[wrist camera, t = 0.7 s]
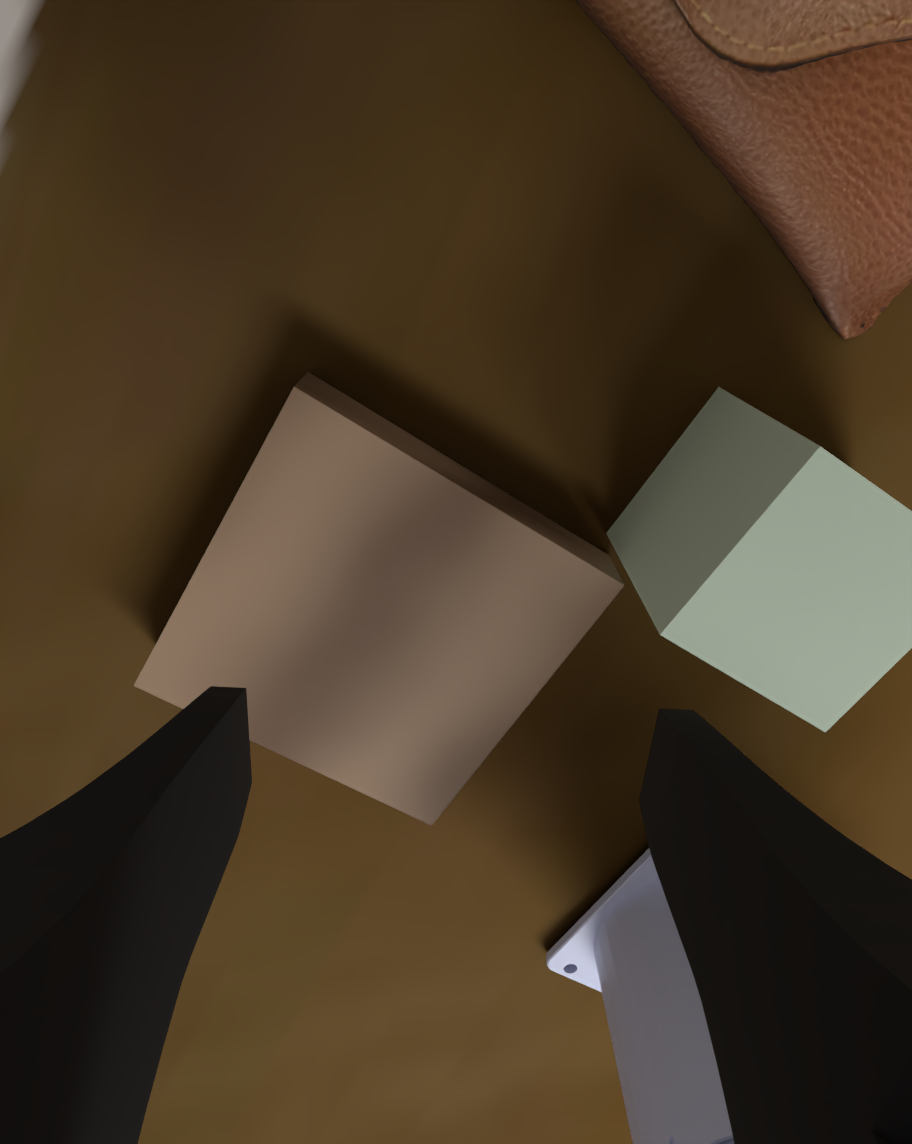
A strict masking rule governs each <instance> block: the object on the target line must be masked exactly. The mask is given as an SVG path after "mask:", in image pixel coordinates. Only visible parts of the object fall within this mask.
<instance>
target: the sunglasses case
mask: <svg viewBox="0 0 912 1144" xmlns="http://www.w3.org/2000/svg"><path fill="white" fill-rule="evenodd" d="M576 1H577V3H578V4H579V5H580V6H581V7H582V8H583V10H584V11H585V13H586V14H587V15H588V16H589V17H590V18H591V19H592V20H593V22H594V23H595V24H596V25H597V26H598V27H599V28H600V30H601V31H602V32H603V33H604V34H605V35H606V36H607V38H608V39H609V40H610V41H611V42H612V43H613V45H614V46H615V48H616V49H617V50H618V51H620V52H621V54H622V55H623V56H624V57H625V58H626V60H627V61H628V63H629V65H630V66H631V67H633V68H634V69H636V70H637V71H638V73H639V74H640V76H641V77H642V78H643V79H644V80H645V81H646V82H647V84H648V85H649V87H650V89H651V90H652V92H653V93H654V94H655V95H656V96H657V97H658V98H659V99H660V100H661V101H662V102H663V103H664V104H665V105H666V106H667V108H668V109H669V110H670V111H671V113H672V114H673V115H674V116H675V117H676V119H677V120H678V121H680V122H681V124H682V125H683V127H684V128H685V129H686V130H687V132H688V133H689V134H690V135H691V136H692V138H693V139H694V141H695V142H696V144H697V145H698V147H699V148H700V149H701V150H702V151H703V152H705V153H706V155H708V156H709V157H710V159H711V161H712V163H713V164H714V166H715V167H717V168H719V169H720V170H721V171H722V173H723V175H724V176H725V177H726V178H727V179H728V181H729V182H730V184H731V185H732V187H733V189H734V191H735V192H736V193H737V194H739V195H741V196H742V198H743V200H744V202H745V203H746V204H747V205H748V206H749V207H750V208H751V209H752V211H753V212H754V213H755V215H756V216H757V217H758V218H759V219H760V221H761V222H762V223H763V224H764V225H765V226H766V228H767V229H768V231H769V232H770V233H771V235H772V236H773V238H774V240H775V242H776V243H777V244H778V246H779V247H780V249H781V250H782V251H783V252H784V253H785V255H786V256H787V258H788V259H789V260H790V261H791V264H792V266H793V267H794V268H795V269H796V272H797V273H798V274H799V275H800V276H801V278H802V279H803V281H804V282H805V284H806V286H807V287H808V288H809V290H810V292H811V293H812V295H813V299H814V302H815V304H816V305H817V306H818V308H819V310H820V311H821V313H822V314H823V316H824V318H825V319H826V321H827V322H828V323H829V325H830V326H831V327H832V328H833V330H834V331H835V332H836V333H837V334H838V335H839V336H840V337H841V338H842V339H844V340H849V339H852V338H854V337H856V336H858V335H860V334H862V333H863V332H865V331H867V330H868V329H870V328H871V327H872V326H873V324H874V322H875V320H876V319H877V317H878V316H879V315H880V314H881V313H883V312H884V311H885V309H886V307H887V306H888V305H889V304H890V303H891V300H892V299H893V298H894V297H895V296H897V295H898V294H899V293H901V291H902V290H903V289H904V288H906V287H907V286H908V285H910V284H911V283H912V0H576Z"/></svg>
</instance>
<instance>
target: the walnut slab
mask: <svg viewBox="0 0 912 1144" xmlns="http://www.w3.org/2000/svg"><path fill="white" fill-rule="evenodd" d="M623 587H624V583H623V581H622V579H621V577H620V575H619V573H618V571H617V569H616V567H615V565H614V563H613V561H612V559H611V557H610V556H609V555H608V554H606V553H604V552H603V551H601V550H600V549H598V548H596V547H595V546H593V545H591V544H590V543H588V542H586V541H585V540H583V539H582V538H580V537H578V536H577V535H575V534H573V533H572V532H570V531H568V530H567V529H565V528H563V527H562V526H560V525H559V524H557V523H555V522H554V521H552V520H550V519H549V518H547V517H545V516H544V515H542V514H540V513H539V512H537V511H536V510H534V509H532V508H531V507H529V506H527V505H526V504H524V503H522V502H521V501H519V500H517V499H516V498H514V497H513V496H511V495H509V494H508V493H506V492H504V491H503V490H501V489H499V488H498V487H496V486H495V485H493V484H491V483H490V482H488V481H486V480H485V479H483V478H481V477H480V476H478V475H476V474H475V473H473V472H472V471H470V470H468V469H467V468H465V467H463V466H462V465H460V464H458V463H457V462H455V461H453V460H452V459H450V458H449V457H447V456H445V455H444V454H442V453H440V452H439V451H437V450H435V449H434V448H432V447H431V446H429V445H427V444H426V443H424V442H422V441H421V440H419V439H417V438H416V437H414V436H412V435H411V434H409V433H408V432H406V431H404V430H403V429H401V428H399V427H398V426H396V425H394V424H393V423H391V422H389V421H388V420H386V419H385V418H383V417H381V416H380V415H378V414H376V413H375V412H373V411H371V410H370V409H368V408H367V407H365V406H363V405H362V404H360V403H358V402H357V401H355V400H353V399H352V398H350V397H348V396H347V395H345V394H344V393H342V392H340V391H339V390H337V389H335V388H334V387H332V386H330V385H329V384H327V383H325V382H324V381H322V380H321V379H319V378H317V377H316V376H314V375H312V374H311V373H309V372H307V373H306V374H305V375H304V376H303V377H302V378H301V380H300V381H299V382H298V383H297V384H296V385H295V386H294V387H293V389H292V391H291V393H290V395H289V397H288V399H287V400H286V402H285V404H284V406H283V408H282V410H281V412H280V413H279V415H278V417H277V419H276V421H275V423H274V425H273V427H272V428H271V430H270V432H269V434H268V436H267V438H266V440H265V441H264V443H263V445H262V447H261V449H260V451H259V453H258V455H257V456H256V458H255V460H254V462H253V464H252V466H251V468H250V469H249V471H248V473H247V475H246V477H245V479H244V481H243V483H242V484H241V486H240V488H239V490H238V492H237V494H236V496H235V497H234V499H233V501H232V503H231V505H230V507H229V509H228V511H227V512H226V514H225V516H224V518H223V520H222V522H221V524H220V525H219V527H218V529H217V531H216V533H215V535H214V537H213V539H212V540H211V542H210V544H209V546H208V548H207V550H206V552H205V554H204V555H203V557H202V559H201V561H200V563H199V565H198V567H197V568H196V570H195V572H194V574H193V576H192V578H191V580H190V582H189V583H188V585H187V587H186V589H185V591H184V593H183V595H182V596H181V598H180V600H179V602H178V604H177V606H176V608H175V610H174V611H173V613H172V615H171V617H170V619H169V621H168V623H167V624H166V626H165V628H164V630H163V632H162V634H161V636H160V638H159V639H158V641H157V643H156V645H155V647H154V649H153V651H152V652H151V654H150V656H149V658H148V660H147V662H146V664H145V666H144V667H143V669H142V671H141V673H140V675H139V677H138V679H137V680H136V682H135V684H134V686H135V687H137V688H140V689H142V690H144V691H146V692H148V693H150V694H152V695H155V696H157V697H159V698H161V699H163V700H165V701H167V702H169V703H172V704H174V705H176V706H178V707H180V708H182V709H184V708H185V707H186V706H188V705H189V704H190V703H191V702H192V701H193V700H195V699H196V698H197V697H198V696H199V695H201V694H202V693H203V692H204V691H206V690H207V689H208V688H209V687H210V686H217V687H237V688H246V691H247V708H248V725H249V740H250V741H253V742H255V743H257V744H259V745H261V746H263V747H265V748H267V749H270V750H272V751H274V752H276V753H278V754H280V755H282V756H285V757H287V758H289V759H291V760H293V761H295V762H297V763H299V764H302V765H304V766H306V767H308V768H310V769H312V770H314V771H317V772H319V773H321V774H323V775H325V776H327V777H329V778H331V779H334V780H336V781H338V782H340V783H342V784H344V785H346V786H348V787H351V788H353V789H355V790H357V791H359V792H361V793H363V794H366V795H368V796H370V797H372V798H374V799H376V800H378V801H380V802H383V803H385V804H387V805H389V806H391V807H393V808H395V809H398V810H400V811H402V812H404V813H406V814H408V815H410V816H412V817H415V818H417V819H419V820H421V821H423V822H425V823H427V824H429V825H432V824H433V823H434V822H435V821H436V819H437V818H438V817H439V816H440V814H441V813H442V812H443V811H444V809H445V808H446V807H447V806H448V804H449V803H450V802H451V801H452V799H453V798H454V797H455V796H456V794H457V793H458V792H459V791H460V789H461V788H462V787H463V786H464V784H465V783H466V782H467V781H468V779H469V778H470V777H471V776H472V774H473V773H474V772H475V771H476V770H477V768H478V767H479V766H480V765H481V763H482V762H483V761H484V760H485V758H486V757H487V756H488V755H489V753H490V752H491V751H492V750H493V748H494V747H495V746H496V745H497V743H498V742H499V741H500V740H501V738H502V737H503V736H504V735H505V733H506V732H507V731H508V730H509V728H510V727H511V726H512V725H513V723H514V722H515V721H516V720H517V718H518V717H519V716H520V715H521V714H522V712H523V711H524V710H525V709H526V707H527V706H528V705H529V704H530V702H531V701H532V700H533V699H534V697H535V696H536V695H537V694H538V692H539V691H540V690H541V689H542V687H543V686H544V685H545V684H546V682H547V681H548V680H549V679H550V677H551V676H552V675H553V674H554V672H555V671H556V670H557V669H558V667H559V666H560V665H561V664H562V662H563V661H564V660H565V659H566V658H567V656H568V655H569V654H570V653H571V651H572V650H573V649H574V648H575V646H576V645H577V644H578V643H579V641H580V640H581V639H582V638H583V636H584V635H585V634H586V633H587V631H588V630H589V629H590V628H591V626H592V625H593V624H594V623H595V621H596V620H597V619H598V618H599V616H600V615H601V614H602V613H603V611H604V610H605V609H606V608H607V606H608V605H609V604H610V603H611V602H612V600H613V599H614V598H615V597H616V595H617V594H618V593H619V592H620V590H621V589H622V588H623Z"/></svg>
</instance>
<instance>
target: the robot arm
mask: <svg viewBox="0 0 912 1144" xmlns="http://www.w3.org/2000/svg"><path fill="white" fill-rule="evenodd" d="M251 784H252V776H251V759H250V742H249V725H248V708H247V691H246V688H237V687H217V686H210V687H209V688H208V689H207V690H206V691H204V692H203V693H202V694H201V695H199V696H198V697H197V698H196V699H195V700H193V701H192V702H191V703H190V704H189V705H188V706H186V707H185V708H184V709H183V710H182V711H181V712H179V713H178V714H177V715H176V716H175V717H174V718H172V719H171V720H170V721H169V722H168V723H166V724H165V725H164V726H163V727H162V728H161V729H159V730H158V731H157V732H156V733H155V734H153V735H152V736H151V737H150V738H148V739H147V740H146V741H145V742H144V743H142V744H141V745H140V746H139V747H137V748H136V749H135V750H134V751H132V752H131V753H130V754H129V755H127V756H126V757H125V758H123V759H122V760H121V761H119V762H118V763H117V764H115V765H114V766H113V767H111V768H110V769H109V770H107V771H106V772H104V773H103V774H102V775H100V776H99V777H98V778H96V779H95V780H94V781H92V782H91V783H90V784H88V785H87V786H85V787H84V788H83V789H81V790H80V791H78V792H77V793H75V794H74V795H72V796H71V797H69V798H68V799H66V800H65V801H63V802H61V803H60V804H58V805H57V806H55V807H54V808H52V809H50V810H49V811H47V812H45V813H44V814H42V815H40V816H39V817H37V818H36V819H34V820H32V821H31V822H29V823H27V824H26V825H24V826H22V827H20V828H19V829H17V830H15V831H13V832H11V833H9V834H8V835H6V836H4V837H2V838H0V1144H138V1140H139V1136H140V1132H141V1128H142V1124H143V1120H144V1116H145V1112H146V1108H147V1105H148V1101H149V1097H150V1094H151V1090H152V1086H153V1082H154V1079H155V1075H156V1071H157V1068H158V1064H159V1060H160V1057H161V1053H162V1049H163V1046H164V1042H165V1038H166V1035H167V1032H168V1028H169V1025H170V1021H171V1018H172V1014H173V1011H174V1007H175V1004H176V1000H177V997H178V993H179V990H180V986H181V983H182V980H183V977H184V974H185V971H186V969H187V966H188V963H189V960H190V957H191V954H192V952H193V949H194V947H195V944H196V942H197V939H198V937H199V934H200V932H201V929H202V927H203V924H204V922H205V919H206V917H207V914H208V912H209V909H210V907H211V904H212V902H213V899H214V897H215V894H216V892H217V889H218V887H219V884H220V881H221V879H222V876H223V874H224V871H225V869H226V866H227V864H228V861H229V859H230V856H231V853H232V851H233V848H234V846H235V843H236V840H237V838H238V835H239V831H240V827H241V824H242V820H243V816H244V812H245V808H246V804H247V800H248V796H249V792H250V788H251ZM639 801H640V806H641V811H642V816H643V821H644V826H645V831H646V836H647V840H648V845H649V849H648V850H647V851H646V852H645V853H644V854H643V855H642V856H641V857H640V858H639V859H638V860H637V861H636V862H635V863H634V864H633V865H632V866H631V867H630V868H629V869H628V870H627V871H626V872H625V873H624V874H623V875H622V876H621V877H620V878H619V879H618V880H617V881H616V882H615V883H614V884H613V885H612V886H611V887H610V889H609V890H608V891H607V892H606V893H605V894H604V895H603V896H602V897H601V898H600V899H599V900H598V901H597V902H596V903H595V904H594V905H593V906H592V907H591V908H590V909H589V910H588V911H587V912H586V913H585V914H584V915H583V916H582V917H581V918H580V919H579V920H578V921H577V922H576V923H575V924H574V925H573V926H572V927H571V928H570V930H569V931H568V932H567V933H566V934H565V935H564V936H563V937H562V938H561V939H560V940H559V941H558V942H557V943H556V944H555V945H554V946H553V947H552V948H551V949H550V950H549V951H548V952H547V954H546V962H547V966H548V968H549V969H551V970H552V971H554V972H557V973H559V974H561V975H563V976H566V977H568V978H570V979H573V980H575V981H577V982H580V983H582V984H584V985H586V986H589V987H591V988H593V989H596V990H598V991H600V992H602V996H603V1000H604V1005H605V1010H606V1015H607V1020H608V1025H609V1030H610V1035H611V1039H612V1044H613V1049H614V1054H615V1059H616V1064H617V1069H618V1074H619V1078H620V1083H621V1088H622V1093H623V1098H624V1103H625V1108H626V1113H627V1117H628V1122H629V1127H630V1132H631V1137H632V1142H633V1144H912V880H911V879H910V878H908V877H906V876H905V875H903V874H902V873H900V872H898V871H897V870H895V869H894V868H892V867H890V866H889V865H887V864H886V863H884V862H883V861H881V860H880V859H878V858H877V857H875V856H874V855H872V854H871V853H869V852H868V851H866V850H865V849H863V848H862V847H860V846H859V845H857V844H856V843H854V842H853V841H851V840H850V839H848V838H847V837H846V836H844V835H843V834H841V833H840V832H839V831H837V830H836V829H834V828H833V827H832V826H830V825H829V824H828V823H826V822H825V821H824V820H823V819H821V818H820V817H819V816H817V815H816V814H815V813H814V812H812V811H811V810H810V809H808V808H807V807H806V806H804V805H803V804H802V803H801V802H799V801H798V800H797V799H796V798H794V797H793V796H792V795H791V794H790V793H788V792H787V791H786V790H785V789H783V788H782V787H781V786H780V785H779V784H777V783H776V782H775V781H774V780H773V779H772V778H770V777H769V776H768V775H767V774H766V773H765V772H763V771H762V770H761V769H760V768H759V767H758V766H756V765H755V764H754V763H753V762H752V761H751V760H750V759H749V758H747V757H746V756H745V755H744V754H743V753H742V752H741V751H740V750H738V749H737V748H736V747H735V746H734V745H733V744H732V743H731V742H729V741H728V740H727V739H726V738H725V737H724V736H723V735H722V734H721V733H719V732H718V731H717V730H716V729H715V728H714V727H713V726H712V725H710V724H709V723H708V722H707V721H706V720H705V719H703V718H702V717H701V716H700V715H699V714H697V713H696V712H695V711H693V710H674V709H659V712H658V717H657V721H656V726H655V730H654V735H653V739H652V744H651V749H650V753H649V758H648V762H647V767H646V772H645V776H644V781H643V785H642V790H641V795H640V799H639Z"/></svg>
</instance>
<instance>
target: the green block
mask: <svg viewBox="0 0 912 1144" xmlns="http://www.w3.org/2000/svg"><path fill="white" fill-rule="evenodd" d="M606 534H607V536H608V538H609V540H610V542H611V544H612V545H613V547H614V549H615V551H616V553H617V555H618V557H619V559H620V561H621V562H622V564H623V566H624V568H625V570H626V572H627V574H628V576H629V578H630V579H631V581H632V583H633V585H634V587H635V589H636V591H637V593H638V595H639V596H640V598H641V600H642V602H643V604H644V606H645V608H646V610H647V612H648V613H649V615H650V617H651V619H652V621H653V623H654V625H655V627H656V629H657V630H658V632H659V634H660V635H661V636H663V637H664V638H666V639H668V640H669V641H671V642H673V643H675V644H676V645H678V646H680V647H681V648H683V649H685V650H686V651H688V652H690V653H691V654H693V655H695V656H697V657H698V658H700V659H702V660H703V661H705V662H707V663H708V664H710V665H712V666H714V667H715V668H717V669H719V670H720V671H722V672H724V673H725V674H727V675H729V676H731V677H732V678H734V679H736V680H737V681H739V682H741V683H742V684H744V685H746V686H748V687H749V688H751V689H753V690H754V691H756V692H758V693H759V694H761V695H763V696H764V697H766V698H768V699H770V700H771V701H773V702H775V703H776V704H778V705H780V706H781V707H783V708H785V709H787V710H788V711H790V712H792V713H793V714H795V715H797V716H798V717H800V718H802V719H804V720H805V721H807V722H809V723H810V724H812V725H814V726H815V727H817V728H819V729H820V730H822V731H824V732H826V731H827V730H829V729H830V728H831V727H832V726H833V725H834V724H835V723H836V722H837V721H838V720H839V719H840V718H841V717H842V716H843V715H844V714H845V713H846V712H847V711H848V710H849V709H850V708H851V707H852V706H853V705H854V704H855V703H856V702H857V701H858V700H859V699H860V698H861V697H862V696H863V695H864V694H865V693H866V692H867V691H868V690H869V689H870V688H871V687H872V686H873V685H874V684H875V683H876V682H877V681H878V680H879V679H880V678H881V677H882V676H883V675H884V674H886V673H887V672H888V671H889V670H890V669H891V668H892V667H893V666H894V665H895V664H896V663H897V662H898V661H899V660H900V659H901V658H902V657H903V656H904V655H905V654H906V653H907V652H908V651H909V650H910V649H911V648H912V511H911V510H909V509H908V508H906V507H905V506H904V505H902V504H901V503H899V502H898V501H897V500H895V499H894V498H892V497H891V496H890V495H888V494H887V493H885V492H884V491H883V490H881V489H880V488H878V487H877V486H876V485H874V484H873V483H871V482H870V481H869V480H867V479H866V478H864V477H863V476H862V475H860V474H859V473H857V472H856V471H854V470H853V469H852V468H850V467H849V466H847V465H846V464H845V463H843V462H842V461H840V460H839V459H838V458H836V457H835V456H833V455H832V454H831V453H829V452H828V451H826V450H825V449H824V448H822V447H821V446H819V445H817V444H816V443H814V442H812V441H811V440H809V439H807V438H806V437H804V436H802V435H800V434H799V433H797V432H795V431H794V430H792V429H790V428H788V427H787V426H785V425H783V424H782V423H780V422H778V421H776V420H775V419H773V418H771V417H770V416H768V415H766V414H764V413H763V412H761V411H759V410H758V409H756V408H754V407H752V406H751V405H749V404H747V403H746V402H744V401H742V400H740V399H739V398H737V397H735V396H734V395H732V394H730V393H728V392H727V391H725V390H723V389H722V388H720V387H718V388H717V390H716V391H715V392H714V394H713V395H712V396H711V397H710V399H709V400H708V401H707V403H706V404H705V405H704V407H703V408H702V409H701V411H700V412H699V413H698V414H697V416H696V417H695V418H694V420H693V421H692V422H691V424H690V425H689V426H688V427H687V429H686V430H685V431H684V433H683V434H682V435H681V437H680V438H679V439H678V440H677V442H676V443H675V444H674V446H673V447H672V448H671V450H670V451H669V452H668V453H667V455H666V456H665V457H664V459H663V460H662V461H661V463H660V464H659V465H658V466H657V468H656V469H655V470H654V472H653V473H652V474H651V476H650V477H649V478H648V480H647V481H646V482H645V483H644V485H643V486H642V487H641V489H640V490H639V491H638V493H637V494H636V495H635V496H634V498H633V499H632V500H631V502H630V503H629V504H628V506H627V507H626V508H625V509H624V511H623V512H622V513H621V515H620V516H619V517H618V519H617V520H616V521H615V522H614V524H613V525H612V526H611V528H610V529H609V530H608V532H607V533H606Z"/></svg>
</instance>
